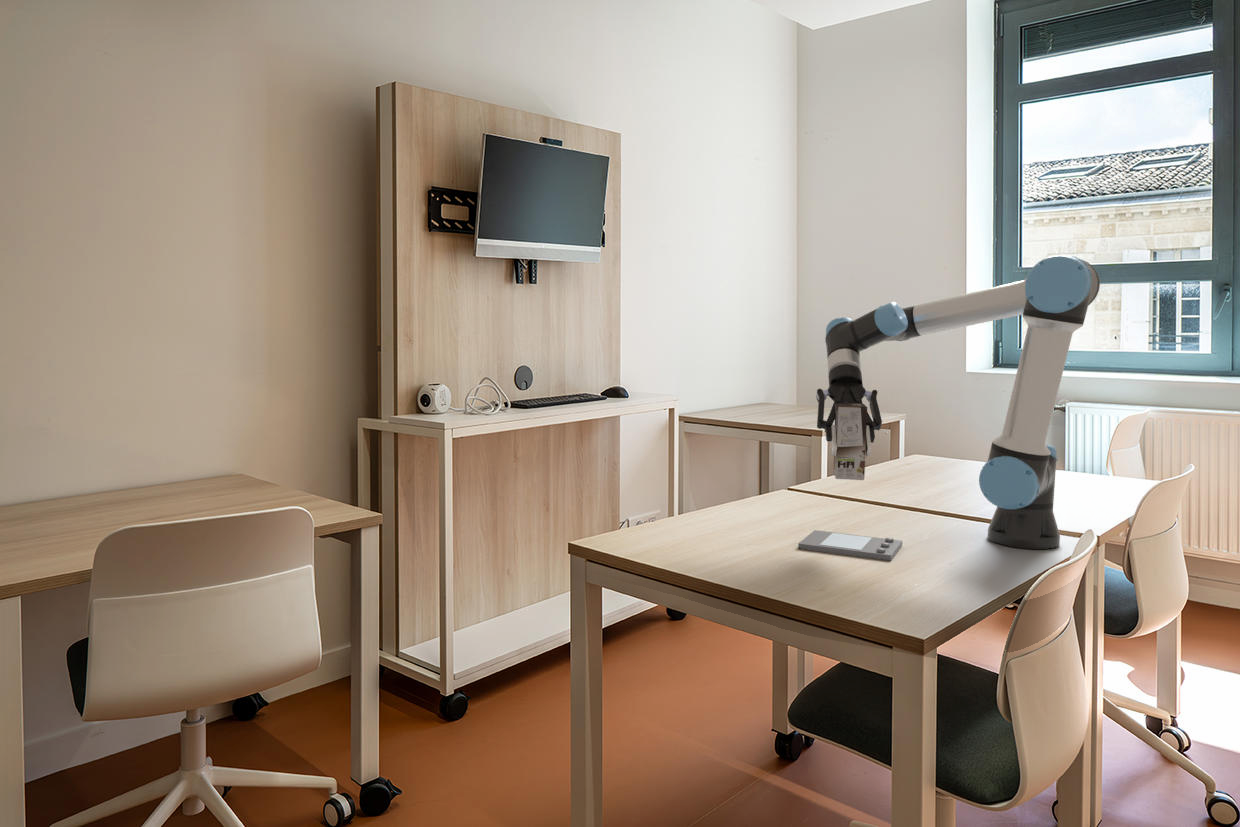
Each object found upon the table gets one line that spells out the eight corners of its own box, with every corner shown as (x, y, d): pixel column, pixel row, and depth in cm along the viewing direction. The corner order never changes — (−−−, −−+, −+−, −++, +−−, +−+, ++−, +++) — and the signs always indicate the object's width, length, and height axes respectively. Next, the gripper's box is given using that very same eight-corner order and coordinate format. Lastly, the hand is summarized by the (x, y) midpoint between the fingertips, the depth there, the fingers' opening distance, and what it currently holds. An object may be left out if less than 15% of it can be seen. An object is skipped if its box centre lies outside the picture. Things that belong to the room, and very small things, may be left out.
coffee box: (865, 480, 186) (868, 406, 184) (834, 479, 187) (837, 406, 185) (861, 473, 195) (864, 402, 193) (832, 472, 196) (834, 402, 194)
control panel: (902, 545, 194) (902, 538, 193) (890, 560, 181) (891, 552, 181) (814, 535, 203) (814, 527, 203) (798, 548, 190) (798, 540, 190)
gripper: (885, 384, 203) (895, 463, 188) (801, 382, 205) (804, 461, 191) (890, 363, 197) (900, 443, 183) (803, 361, 199) (807, 440, 185)
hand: (851, 452), depth 187 cm, fingers closed on coffee box, 7 cm apart
